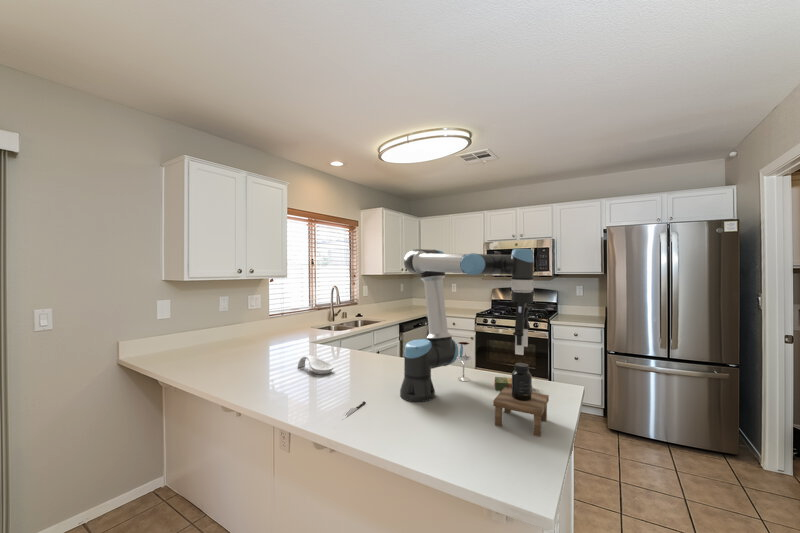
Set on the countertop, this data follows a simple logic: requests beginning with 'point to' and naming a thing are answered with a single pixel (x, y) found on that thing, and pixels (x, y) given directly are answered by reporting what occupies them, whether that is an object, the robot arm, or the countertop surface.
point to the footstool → (522, 407)
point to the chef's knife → (354, 409)
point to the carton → (502, 383)
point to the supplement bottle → (521, 382)
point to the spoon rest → (317, 365)
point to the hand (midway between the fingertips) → (521, 350)
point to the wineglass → (464, 356)
